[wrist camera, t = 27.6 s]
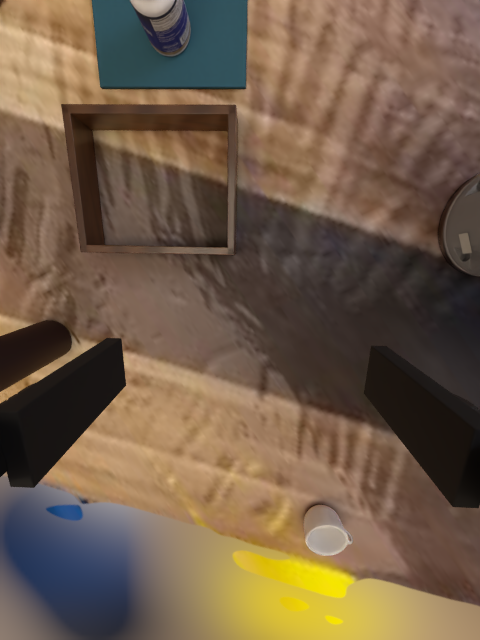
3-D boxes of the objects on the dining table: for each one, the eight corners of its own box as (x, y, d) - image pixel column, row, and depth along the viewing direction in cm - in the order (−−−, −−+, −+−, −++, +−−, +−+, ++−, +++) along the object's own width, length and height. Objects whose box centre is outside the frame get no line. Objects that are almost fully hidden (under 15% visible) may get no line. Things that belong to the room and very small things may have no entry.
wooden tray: (237, 122, 38) (236, 104, 33) (236, 254, 43) (234, 255, 38) (84, 122, 39) (61, 104, 34) (99, 251, 43) (80, 252, 38)
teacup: (294, 520, 56) (299, 548, 51) (310, 493, 54) (316, 519, 49) (337, 535, 57) (346, 564, 52) (354, 509, 55) (365, 536, 50)
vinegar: (73, 323, 47) (-52, 378, 27) (72, 359, 48) (-46, 433, 29) (34, 316, 46) (-119, 364, 27) (34, 351, 48) (-109, 421, 29)
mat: (247, -25, 34) (247, -29, 33) (245, 89, 37) (245, 87, 36) (91, -23, 34) (89, -27, 34) (102, 88, 37) (100, 86, 37)
